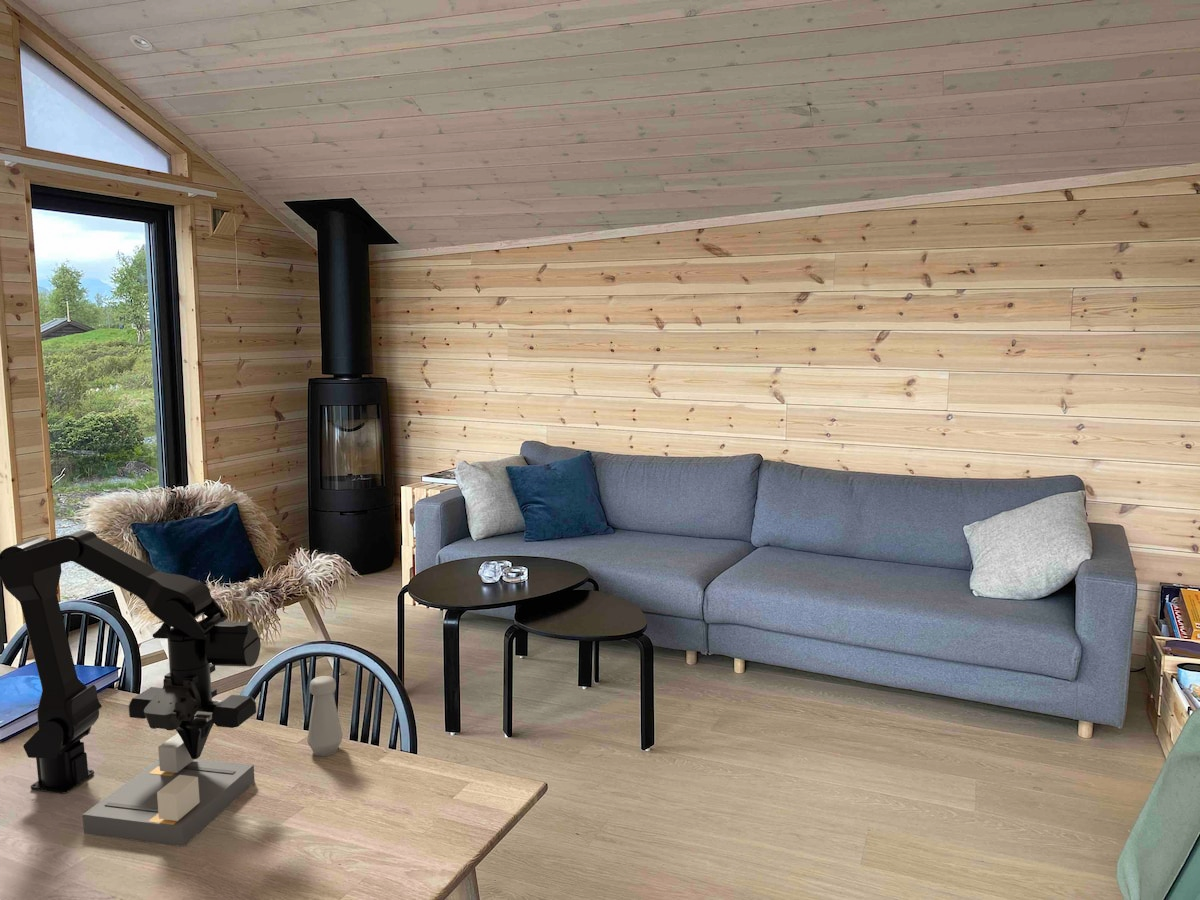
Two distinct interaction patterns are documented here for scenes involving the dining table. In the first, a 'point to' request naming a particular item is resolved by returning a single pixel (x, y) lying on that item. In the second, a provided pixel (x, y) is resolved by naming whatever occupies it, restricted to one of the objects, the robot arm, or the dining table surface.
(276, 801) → the dining table surface
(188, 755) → the block
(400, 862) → the dining table surface
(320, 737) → the salt shaker
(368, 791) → the dining table surface
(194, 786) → the cream fader
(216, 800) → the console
